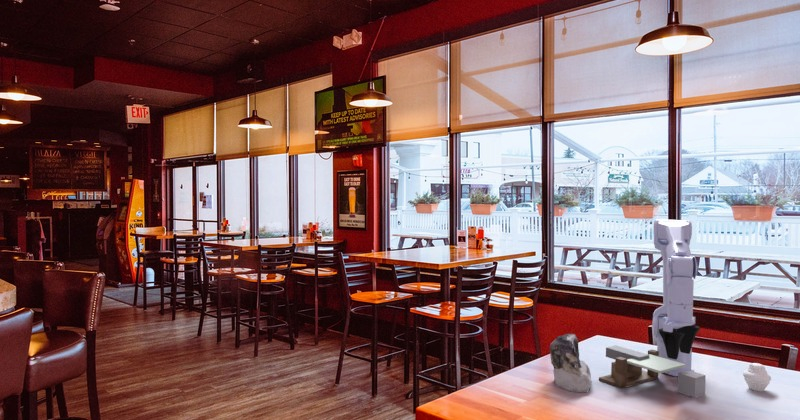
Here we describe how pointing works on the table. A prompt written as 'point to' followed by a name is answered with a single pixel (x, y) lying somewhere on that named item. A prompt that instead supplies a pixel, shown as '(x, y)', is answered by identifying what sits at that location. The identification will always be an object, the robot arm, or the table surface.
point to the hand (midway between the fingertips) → (678, 355)
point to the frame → (628, 373)
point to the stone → (569, 364)
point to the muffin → (756, 377)
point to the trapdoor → (643, 359)
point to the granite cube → (691, 383)
